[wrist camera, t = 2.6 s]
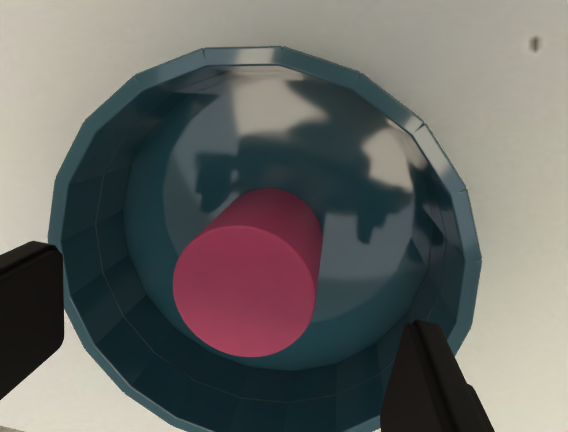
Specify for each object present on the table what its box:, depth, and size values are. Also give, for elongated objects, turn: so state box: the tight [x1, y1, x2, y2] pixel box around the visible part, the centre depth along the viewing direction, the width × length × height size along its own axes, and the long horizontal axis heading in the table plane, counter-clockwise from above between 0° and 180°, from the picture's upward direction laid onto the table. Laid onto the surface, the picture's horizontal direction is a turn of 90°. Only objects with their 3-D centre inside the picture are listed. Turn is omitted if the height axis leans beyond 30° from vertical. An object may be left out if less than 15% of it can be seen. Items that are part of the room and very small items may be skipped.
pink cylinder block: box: [173, 188, 323, 357], centre depth 14 cm, size 4×4×5 cm
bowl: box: [48, 46, 482, 432], centre depth 15 cm, size 14×14×4 cm
